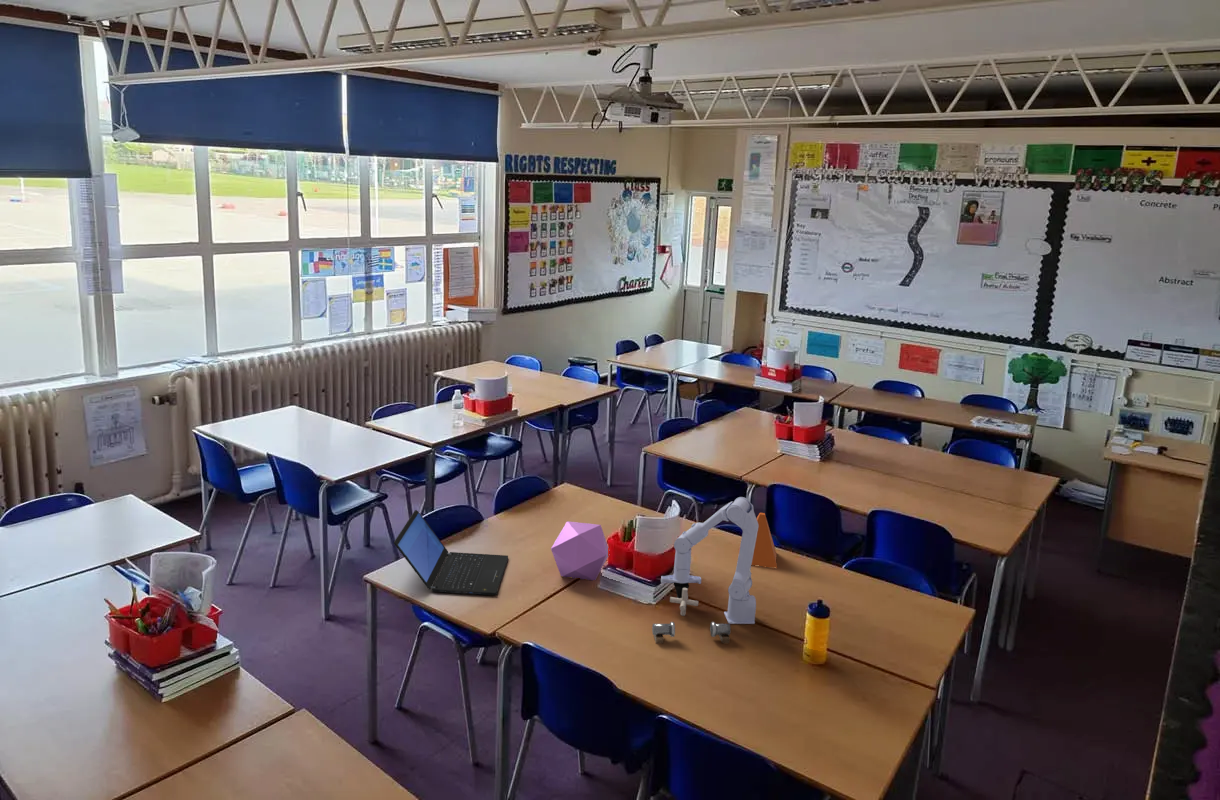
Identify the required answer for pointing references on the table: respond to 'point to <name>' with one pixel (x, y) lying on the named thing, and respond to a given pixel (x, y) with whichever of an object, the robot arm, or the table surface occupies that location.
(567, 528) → the icosahedron
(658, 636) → the grey metal fitting
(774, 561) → the pyramid
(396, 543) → the laptop
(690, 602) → the pipe connector
